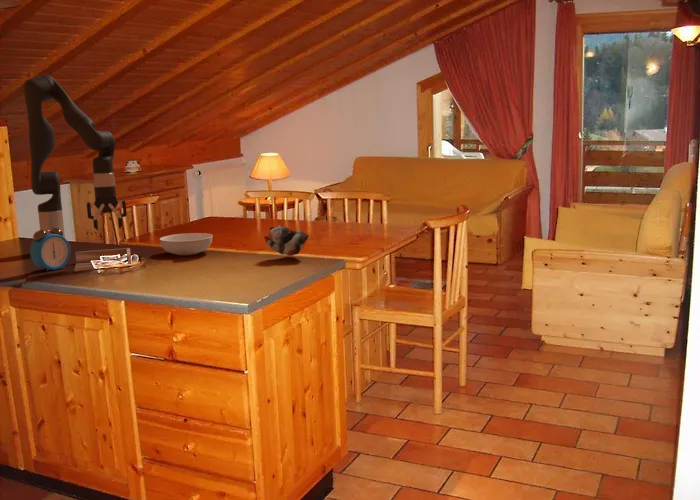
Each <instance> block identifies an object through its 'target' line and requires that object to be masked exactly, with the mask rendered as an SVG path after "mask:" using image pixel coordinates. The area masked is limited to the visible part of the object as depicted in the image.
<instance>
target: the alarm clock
mask: <svg viewBox="0 0 700 500" xmlns="http://www.w3.org/2000/svg"><path fill="white" fill-rule="evenodd" d="M48 231H50V233H52V234H49V232H48ZM48 231H47V232H48V233H46V231H44V230H40V229H39V230H37V231H35V232H34V234H33V235H32V238H33V240H32V242H31V243H30V244H31V245H30V248H29V255H30V260H31V261H32V263H33V264H34V265H35V266H37V267H38V268H40V269H43V270H46V272H49V271H50V270H56V271H57V270H59V269H61V268H63V269H65V265H66V264H67V263H68V262H69V259H70V256H71V246H70V243H69V242H68V240H67V239H66V237H65V238H64V237H63V235H64V234H63V231H62V230H61V229H59V228H53V229H51V230H48Z"/></svg>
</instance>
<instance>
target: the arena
mask: <svg viewBox="0 0 700 500" xmlns="http://www.w3.org/2000/svg"><path fill="white" fill-rule="evenodd" d="M74 254H75V261H76V262H75V266H74V268H73V272H76V273H77V272H87V271H96V270H95V269H94V268H93V267H92V266H91V265H90V261H91V260H99V259H100V256H102V255H103V256H104V255H117V254H120V255H124V254H127V260H128V264H131V265H132V259H131V258H132V254H131V248H130V247H125V248H124V247H123V248H113V249H110V248H109V249H101V250H100V249H97V250H86V251H76V252H75V253H74Z"/></svg>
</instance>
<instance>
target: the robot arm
mask: <svg viewBox="0 0 700 500" xmlns="http://www.w3.org/2000/svg"><path fill="white" fill-rule="evenodd" d="M23 94H24V100H25V101H24V102H25V108H26V112H27V121H28V122H27V123H28V138H29V139H28V140H29V141H28V142H29V150H30V186H31V190H32V192H33V194H34V195H37V196H41V195H42V196H43V195H52V196H51V197H50V198H49V199H48V200H46V201H44V202H41V203H39V204H38V205H37V215H38V224H39V230H44V231H46V233H48V232H49V234H52V233H50V231H48V230H51V229H53V228H59V229H61V230H62V231H63V234H64V235H63V237H64V238H65V239H66V236H65V235H66V234H65V225H64V224H65V223H64V215H63V206H62V204H63V203H62V196H61V193H62V192H61V179H60V174H59V173H58V172H57V171H55V170H54V171H53V170H52V171H42V168H43V165H44V163H45V162H46V161H47V159H48V158H49V157H50V156H51V154H52V153H53V151H54V149H55V146H56V143H55V142H56V140H55V138H56V137H55V130H54V127H53V126H52V124H51V123H50V122H49V121H48V119H47V118H45V116H44V114H43V109H42V104H43V102H46V101H50V100H54V101H56V102H57V103H58V104H59V105H60V108H61V111H62V116H63V118H64V120H65V122H66V123H67V124H68V126H69V127H71V129H72V130H74V132H75V133H77V134H79V137H80V138H81V140H82V141H83V142H84V144H85V145H86V147H88V148H89V149H90V150H93V151H98V155H97V156H96V157H94V158H93V160H92V170H93V171H92V172H93V187H94V188H93V189H94V197H95V200H94V202H90V201H88V202H87V203H86V210H87V219H88V220H89V219H90V220H92V221H93V228H94V230H96V231H99V222H98V218H99V215H101V213H103V214H104V213H105V214H106V213H112V212H113V213H114V214H115V215H116V217H117V221H118V222H117V223H118V229H122V227H123V218H125V217H127V215H128V214H127V204H126V200H125V199H123V200H118V199H117V191H116V190H117V189H116V188H117V187H116V180H115V179H116V178H115V174H114V164H113V160H114V155H115V149H116V140H115V137H114V135H113V133H111V131H109V130H96V129H95V128H96V127H95V126H96V123H95V122H94V121H93V119H92V118H90V117H89V116H88V115H87V114H86V113H84V111H83V110H81V109H80V108H79V107H78V105H76V103H74V101H73V100H72V99H71V97H70V96H69V94H67V92H66V91H65V90H64V89H63V87H62V86H61V84H60V83H58V81H57V80H56V79H55V78H54V77H52V76H51V75H50V74H40V75H38V76H34V77H31V78H28V79H27V80H25V81H24V83H23ZM118 205H120V207H122V213H120V212H119V210H118V209H117V206H118ZM94 206H95V207H96V209H97V211H95V212H96V213H95V214H94V215H92V209H93V208H94ZM47 231H48V232H47Z"/></svg>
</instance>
